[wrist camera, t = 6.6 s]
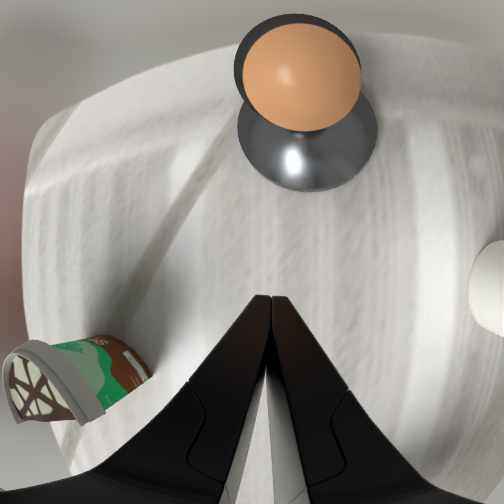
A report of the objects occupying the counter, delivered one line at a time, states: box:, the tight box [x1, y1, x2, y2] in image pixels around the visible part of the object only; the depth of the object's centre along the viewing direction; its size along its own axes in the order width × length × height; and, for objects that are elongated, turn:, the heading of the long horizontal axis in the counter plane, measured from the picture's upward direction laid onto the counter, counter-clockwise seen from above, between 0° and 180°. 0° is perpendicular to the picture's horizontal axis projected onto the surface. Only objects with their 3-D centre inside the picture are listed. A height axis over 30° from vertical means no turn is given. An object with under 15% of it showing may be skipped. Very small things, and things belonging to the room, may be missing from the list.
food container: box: [2, 336, 152, 426], centre depth 18 cm, size 12×6×10 cm, turn 114°
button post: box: [234, 14, 377, 192], centre depth 15 cm, size 10×10×8 cm
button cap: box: [243, 23, 361, 131], centre depth 13 cm, size 6×6×6 cm
